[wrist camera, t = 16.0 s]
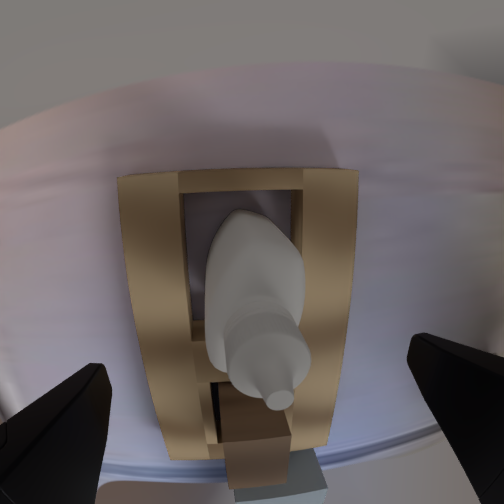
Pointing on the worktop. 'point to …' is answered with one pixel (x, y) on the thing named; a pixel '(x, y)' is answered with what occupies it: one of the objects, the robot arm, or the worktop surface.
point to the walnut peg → (253, 440)
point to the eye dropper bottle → (256, 308)
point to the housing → (291, 484)
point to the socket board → (193, 331)
